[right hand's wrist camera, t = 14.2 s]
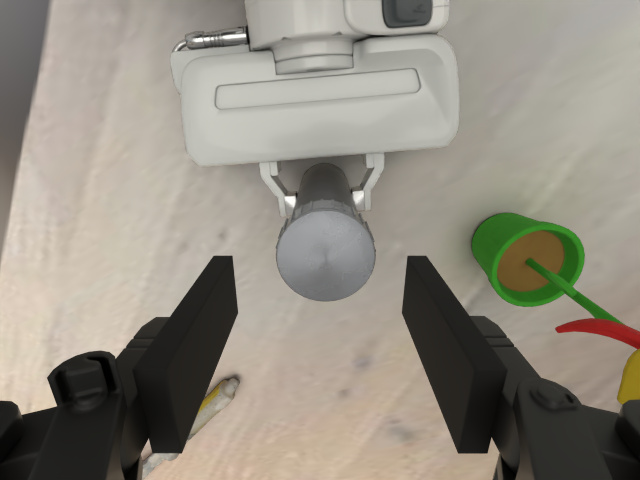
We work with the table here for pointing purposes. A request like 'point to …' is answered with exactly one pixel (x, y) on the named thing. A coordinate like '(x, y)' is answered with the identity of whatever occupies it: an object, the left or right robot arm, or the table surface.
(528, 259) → the potted flower
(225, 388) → the syringe
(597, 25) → the table surface
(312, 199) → the bottle
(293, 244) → the lid
